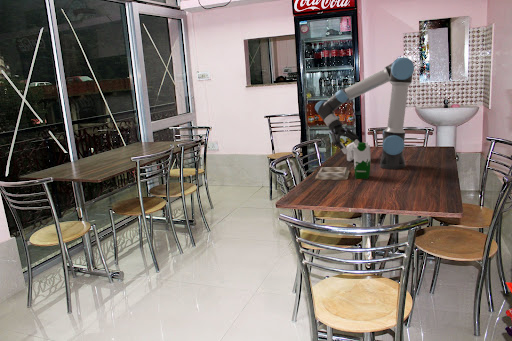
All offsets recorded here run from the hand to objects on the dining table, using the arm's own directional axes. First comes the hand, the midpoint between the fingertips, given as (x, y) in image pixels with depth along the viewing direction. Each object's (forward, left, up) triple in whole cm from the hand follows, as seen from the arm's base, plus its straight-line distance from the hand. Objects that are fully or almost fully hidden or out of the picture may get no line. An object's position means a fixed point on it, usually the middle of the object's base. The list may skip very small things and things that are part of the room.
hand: (354, 151), depth 245 cm
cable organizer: (0, -46, -15) cm, 48 cm away
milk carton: (-5, +2, -15) cm, 16 cm away
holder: (+12, -1, -15) cm, 19 cm away
